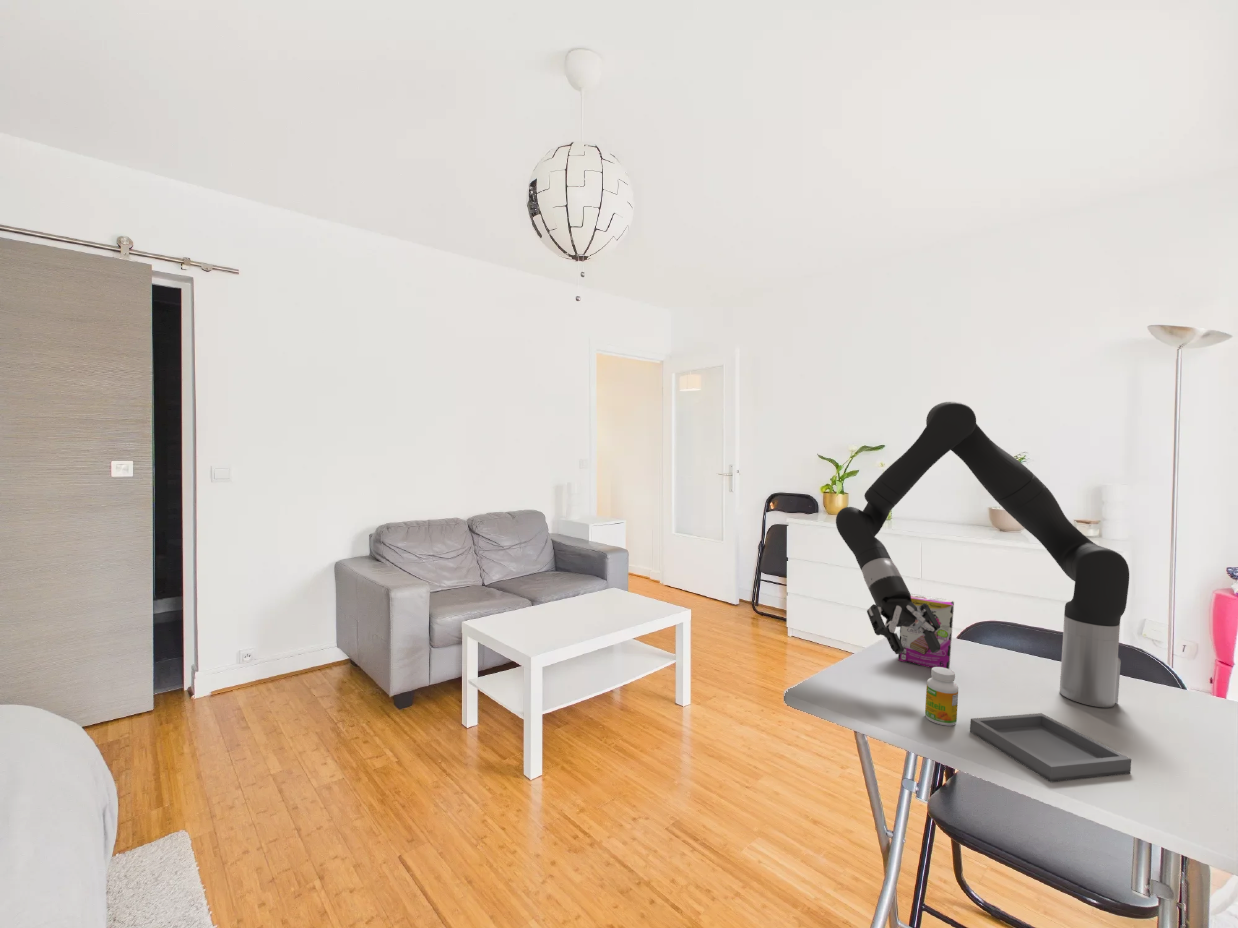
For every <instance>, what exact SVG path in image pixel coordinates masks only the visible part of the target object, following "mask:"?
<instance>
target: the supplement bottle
mask: <svg viewBox="0 0 1238 928" xmlns="http://www.w3.org/2000/svg"><path fill="white" fill-rule="evenodd" d="M930 674H931V677H929V678H928V679H927V681H926V690H925V692H926V693H925V710H924V715H925V717H926V719H927V720H929V721H930V722H932V723H935V724H937V725H941V726H948V727H950V726H951V727H952V726H955V724H956V723H957V720H958V703H959V686H958V685H957V683H955V680H956V673H955V671H954V670H952V669H950V668H949V669H947V668H943V667H933V668H931V671H930Z"/></svg>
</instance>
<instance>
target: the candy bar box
mask: <svg viewBox="0 0 1238 928" xmlns="http://www.w3.org/2000/svg"><path fill="white" fill-rule="evenodd" d="M910 594H911V601H912V603H913V604H914V605H915V606H921V605H922V604H923V603H926V604H927V605H928V606H929V608H930V610H931V611H932V613H933V615H934V616H935V618H936V620H937V622H938V623H939V625H940V628H939V629H938V630H937V631H935V632H934V633H935V635H936V637H937V639H938V641H939V643H940V646H941V647H940V650H939V651H938V652H936V653H932V652H931V650H930V648H929V646H928V644H927V642H926V640H925V638H924V635H923V634H922V633H920V632H919V631H918V630H914V629H913V628H912V627H910V626H909V627H905V626H901V627H899V628H900V629H899V640H900V642H901V644H902V646H903V648H904V651H903V652H902V653H901V654H897V656H898V657H897V658H898V661H899V662H903V663H908V664H912V665H917V666H922V667H927V668H930V669H932V668H933V667H943V668H947V669H950V666H951V655H952V654H951V652H952V636H953V626H954V625H953V622H954V611H955V601H954V600H951V599H946V598H945V599H944V598H938V597H931V596H926V595H920V594H913V593H910ZM918 622H919V621H918V620H917V619H916V620H915V622H914V623H918ZM931 624H932V623H931ZM932 625H933V624H932ZM922 627H923V626H922ZM923 628H924V627H923ZM924 629H925V630H926V628H924Z"/></svg>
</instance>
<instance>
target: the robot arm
mask: <svg viewBox="0 0 1238 928" xmlns="http://www.w3.org/2000/svg"><path fill="white" fill-rule="evenodd" d="M925 421H926V426H925V428H924V429H923V431H922V432H921V433H920V435H919V437H918V438H917V439H916V441H914V443H912V445H911V446H910V447H909V448H908V449H906V451H905V452H904V453H903V454H902V455H901V456H899V457H898V459H896V460H895V461H894V462H893V463H892V464H890V465H889V466H888V467H887V468H886V469H885V470H884V471H883V472H882V473H881V475H879V476H878V478H876V479H875V481H874V482H873V483H872V484H871V485H870V486H869V488H868V489H867V490H866V491H865V493H864V499H865V501H866V502H867V504H866V505H865V507H864V509H863V510H861V509H859V508H857V507H854V506H846V507H843V508H841V509H840V510H839V511H838V513H837V515H836V516H835V526H836V529H837V531H838V534H839V535H840V537H841V538H842V540H843V541H844V543H845V544H846V545H847V547H848V548H849V550H850V551H851V552H852V554H853V555H854V557H855V560H856V562H857V564H858V566H859V569H860V570H861V571H860V572H861V574H862V575H863V579H864V582H865V584H866V586H867V589H868V590H869V593H870V595H871V597H872V599H873V601H874V603H875V604H872V605H871V606H870V607H869V608H868V609H867V610H866V613H867V616H868V618H869V619H868V620H869V621H870V624H871V626H872V629H873V631H874V634H875V635H876V636H880V635H881V636H883V637H884V638H886V640H887V642H888V645H889V647H890V649H891V650H892V652H894V654H895V655H899V654H901V653H902V652H903V651H904V648H903V646H902V644H901V642H900V640H899V639H900V636H898V633H896V628H900V627H901V626H905V627H909V626H910V627H912V628H913V629H914V630H918V631H919V632H920V633H922V634H923V635H924V638H925V640H926V642H927V644H928V646H929V648H930V650H931V652H932V653H936V652H938V651H939V650H940V647H941V646H940V643H939V641H938V639H937V637H936V635H935V633H934V632H935V631H937V630H938V629H939V628H940V625H939V623H938V622H937V620H936V618H935V616H934V615H933V613H932V611H931V610H930V608H929V606H928V605H927V604H926V603H923V604H922V605H921V606H915V605H914V604H913V603H912V601H911V594H912V593H911V592H910V591H909V589H908V587H907V585H906V583H905V581H904V578H903V577H902V575H901V573H900V571H899V569H898V567H897V566H896V564H895V563H894V562H893V559H892V558H891V556H890V554H889V552H888V550H887V549H886V548H887V547H885V545H884V544H883V542H882V541H881V540H879V539H878V538H877V537H876V536H877V535H878V534H879V532H880V531H881V529H882V527H883V526H884V524H885V522H886V520H887V518H888V517H889V515H890V512H891V511H892V510H893V508H894V507H895V506H896V505H897V504H898V503H899V502H900V501H901V500H902V499H903V498H904V497H905V496H906V495H907V494H908V492H910V490H911V489H912V488H913V487H914V486H915V485H916V483H918V481H919V480H920V479H921V478H922V477H923V476H924V475H925V474H926V473H927V472H928V471H929V470H930V469H931V468H932V466H934V465H935V464H936V463H938V461H939V460H940V459H941V458H943V457H944V456H945V455H946V454H947V453H948V452H950V451H952V453H953V454H955V455H956V456H957V457H958V458H959V459H960V460H961V461H962V462H963V463H964V464H965V465H966V466H967V468H968V469H969V470H970V471H971V473H972V474H973V475H974V477H975V478H976V479H977V480H978V481H979V483H980V484H981V486H982V487H984V489H985V490H986V491H987V492H988V494H989V495H990V496H991V497H992V498H993V500H995V501H996V502H997V503H998V505H999V506H1000V507H1002V509H1004V511H1006V512H1007V513H1008V514H1009V515H1010V516H1011V517H1012V518H1013V519H1014V520H1015V521H1017V522H1018V524H1020V526H1022V527H1023V529H1025V530H1026V531H1027V532H1028V533H1030V534H1031V535H1032V536H1034V538H1035V539H1037V540H1038V542H1039V543H1040V544H1042V546H1043V547H1044V548H1045V549H1046V551H1047V552H1048V553H1049V554H1050V556H1051V557H1052V559H1054V561H1055V563H1056V564H1057V565H1058V566H1059V567H1060V569H1061V570H1062V571H1063V572H1064V574H1065V575H1066V576H1067V577H1068V578H1070V580H1072V581H1073V582H1074V586H1073V587H1074V588H1073V596H1072V599H1071V600H1069V601H1067V602H1066V603H1065V605H1064V614H1063V631H1062V647H1061V648H1062V649H1061V664H1060V665H1061V666H1060V676H1059V677H1060V678H1059V679H1060V680H1059V694H1060V695H1062V696H1063V697H1065V698H1067V699H1069V700H1071V701H1074V702H1076V703H1079V704H1083V705H1087V706H1091V707H1098V708H1113V707H1114V706H1115V704H1118V703H1119V693H1120V692H1119V691H1120V690H1119V689H1120V680H1121V679H1120V677H1121V674H1120V673H1121V665H1122V664H1121V663H1122V661H1121V658H1120V657H1119V644H1120V626H1121V618H1122V617H1123V615H1124V614H1125V612H1126V608H1127V602H1128V601H1127V600H1128V595H1129V593H1128V592H1129V584H1130V568H1129V564H1128V562H1127V560H1126V559H1125V558H1124V557H1123V555H1121V554H1120V553H1119V552H1117V551H1115V550H1113V549H1110V548H1107V547H1104V546H1100V545H1098V544H1097V543H1096V542H1094V541H1092V540H1090V538H1088V537H1087V536H1086V535H1084V534H1083V533H1082V532H1081V531H1080V530H1079V529H1078V528H1077V527H1075V525H1074V524H1073V523H1071V521H1070V520H1069V519H1068V518H1067V516H1065V513H1064V512H1063V510H1062V508H1061V506H1060V504H1059V502H1058V501H1057V499H1056V498H1055V496H1054V495H1053V493H1052V492H1051V490H1050V489H1049V488H1048V487H1047V485H1045V484H1044V483H1043V482H1042V481H1041V480H1040V479H1039V478H1038V477H1037V476H1036V474H1034V473H1033V472H1032V471H1031V470H1030V469H1029V468H1028V467H1026V466H1025V465H1024V464H1023V463H1022V462H1021V461H1019V460H1018V459H1017V458H1015V457H1014V456H1012V455H1011V453H1008V452H1007V451H1005V450H1004V449H1002V448H1001V447H1000V446H998V445H997V444H996V443H995V442H994V441H992V440H991V439H990V437H989V436H987V434H986V433H985V432H984V431H983V430H982V428H981V427H980V426H979V425H978V424H977V417H976V414H975V411H974V410H973V409H972V408H971V407H970V406H968V405H967V404H965V403H962V402H957V401H945V402H941V403H939V404H936V405H934V406H933V407H932V408H931V409H930V410H929V411H928V413H927V416H926V419H925ZM883 618H885V622H884V619H883ZM916 619H917V620H918V621H919V622H918V623H914V622H915V620H916ZM931 623H932V624H933V625H932V624H931ZM922 626H923V627H924V628H926V630H925V629H924V628H923V627H922Z"/></svg>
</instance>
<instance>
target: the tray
mask: <svg viewBox="0 0 1238 928" xmlns="http://www.w3.org/2000/svg"><path fill="white" fill-rule="evenodd" d="M969 732H970V733H972V734H973V735H974V736H976V737H978V738H979V739H981V740H982V741H984V742H985V743H987V744H989V745H990V746H992V747H994V748H995V749H997V750H999V751H1000V752H1002V753H1003V754H1004V755H1006V756H1008V757H1010V758H1011V759H1013V760H1014V761H1016V762H1017V763H1019V764H1021V765H1022V766H1024V767H1025V768H1027V769H1029V770H1031V772H1033V773H1035V774H1037V776H1040V777H1041V778H1043V779H1045V780H1046V781H1048V782H1050V783H1055V782H1064V781H1065V782H1067V781H1073V780H1074V781H1075V780H1076V781H1077V780H1084V779H1092V778H1093V779H1094V778H1103V777H1105V778H1106V777H1113V776H1121V775H1131V770H1132V758H1130V757H1128V756H1127V755H1124V754H1122V753H1121V752H1118V751H1116V750H1114V749H1113V748H1111V747H1109V746H1107V745H1104V744H1103V743H1100V742H1099V741H1097V740H1095V739H1093V738H1091V737H1089V736H1087V735H1085V734H1083V733H1082V732H1079V731H1077V730H1075V729H1073V728H1072V727H1069V726H1068V725H1066V724H1063V723H1062V722H1060V721H1058V720H1056V719H1053V718H1052V717H1051V716H1048V715H1046V714H1044V713H1042V712H1040V713H1028V714H1015V715H1002V716H1000V715H999V716H989V717H987V716H986V717H975V718H970V724H969Z"/></svg>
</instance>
